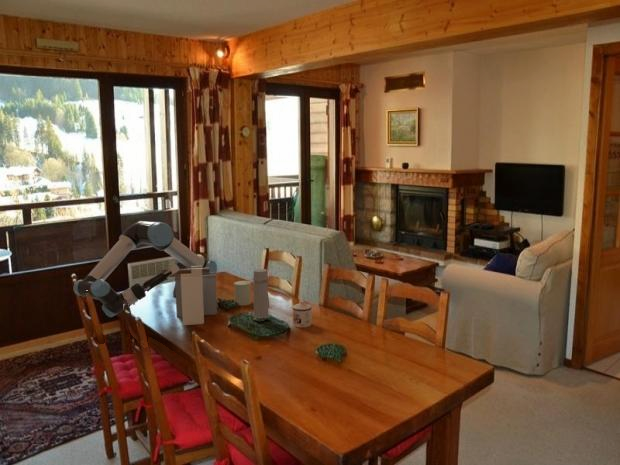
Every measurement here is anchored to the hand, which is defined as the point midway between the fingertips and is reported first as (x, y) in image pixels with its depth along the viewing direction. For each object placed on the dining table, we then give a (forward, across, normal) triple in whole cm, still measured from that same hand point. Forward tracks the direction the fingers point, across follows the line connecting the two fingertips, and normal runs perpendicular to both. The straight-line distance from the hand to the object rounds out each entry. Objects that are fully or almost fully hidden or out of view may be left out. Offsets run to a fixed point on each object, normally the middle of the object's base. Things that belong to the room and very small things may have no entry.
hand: (177, 267), depth 257 cm
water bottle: (+20, +6, -44) cm, 49 cm away
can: (+15, -26, -41) cm, 50 cm away
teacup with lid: (+36, +20, -52) cm, 67 cm away
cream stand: (-8, 0, -27) cm, 28 cm away
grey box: (-7, -12, -28) cm, 31 cm away
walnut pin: (+1, 0, -6) cm, 6 cm away
